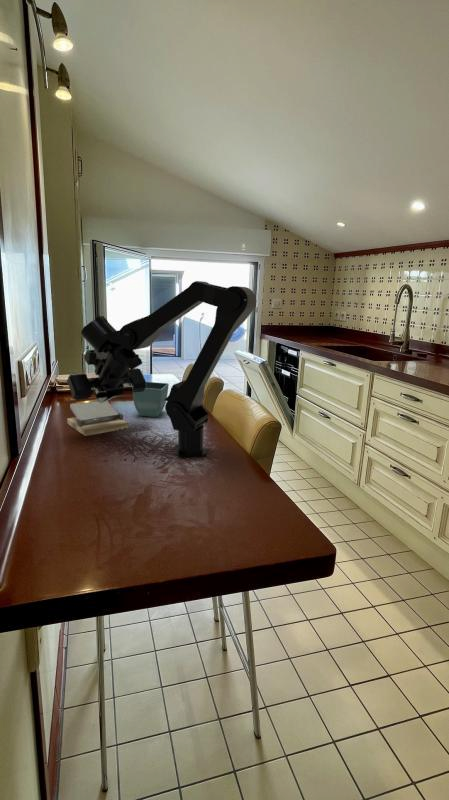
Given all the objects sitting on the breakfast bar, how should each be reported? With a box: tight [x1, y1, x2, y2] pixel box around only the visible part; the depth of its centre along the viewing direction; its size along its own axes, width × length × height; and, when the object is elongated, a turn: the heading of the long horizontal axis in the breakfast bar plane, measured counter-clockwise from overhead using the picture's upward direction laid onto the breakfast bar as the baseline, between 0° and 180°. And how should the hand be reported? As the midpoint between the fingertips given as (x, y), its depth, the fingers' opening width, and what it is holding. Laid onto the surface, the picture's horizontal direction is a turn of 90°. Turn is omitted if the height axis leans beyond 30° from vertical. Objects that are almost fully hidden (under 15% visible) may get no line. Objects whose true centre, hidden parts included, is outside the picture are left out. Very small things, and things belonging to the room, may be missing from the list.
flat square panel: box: [69, 398, 119, 425], centre depth 115 cm, size 2×10×10 cm
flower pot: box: [131, 381, 170, 418], centre depth 125 cm, size 9×9×9 cm
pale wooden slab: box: [66, 412, 130, 437], centre depth 114 cm, size 12×12×3 cm
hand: (99, 401), depth 112 cm, fingers closed
